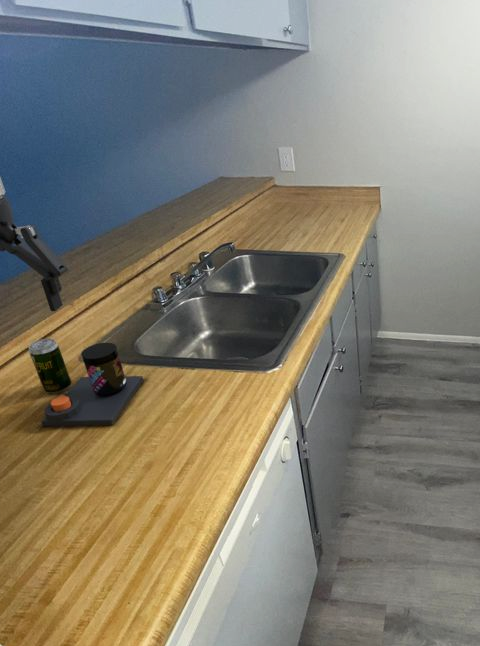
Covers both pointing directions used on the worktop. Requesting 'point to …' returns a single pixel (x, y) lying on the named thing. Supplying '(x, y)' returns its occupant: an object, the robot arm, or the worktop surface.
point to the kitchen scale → (91, 405)
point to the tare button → (61, 403)
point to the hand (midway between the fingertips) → (19, 307)
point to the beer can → (50, 366)
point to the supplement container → (104, 369)
